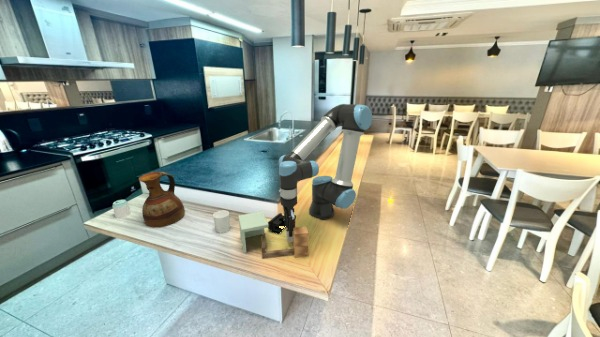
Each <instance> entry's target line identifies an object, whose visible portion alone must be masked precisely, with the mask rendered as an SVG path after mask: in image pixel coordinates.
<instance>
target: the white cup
mask: <svg viewBox="0 0 600 337" xmlns="http://www.w3.org/2000/svg"><path fill="white" fill-rule="evenodd" d="M212 217H213V222H214V226H215V227H214V228H215V231H216V232H217V233H218V234H224V233H225V234H226V233H227V232H229V231H230V229H231V228H230V226H231V224H230V222H231V221H230V212H229V211H228V210H223V209H222V210H218V211H216V212H214V213H213V215H212Z"/></svg>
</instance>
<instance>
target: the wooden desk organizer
mask: <svg viewBox="0 0 600 337" xmlns="http://www.w3.org/2000/svg"><path fill="white" fill-rule="evenodd" d="M292 242H293V244H292V245H293V248H284V249H283V248H282V249H275V250H273V249H272V250H267V249H266V248H267V246H266V233H265V234H262V235H261V255H262V256H261V257H262V259H269V258H280V257H288V256H294V258H303V257H309V231H308V227H307V226H299V227H296V226H295V228H293V241H292Z"/></svg>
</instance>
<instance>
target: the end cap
mask: <svg viewBox="0 0 600 337" xmlns="http://www.w3.org/2000/svg"><path fill="white" fill-rule="evenodd" d="M267 222H268V226H269V227H268V228H267V229H268V231H269V232H271V233H273V232H274V233H273V234H276V233H277V234H276V235H280V234H281V233H282V232H283V231H284V230H285V229H286V227H285V226H286V225H285V220H284V214H283V213H282V212H280V213H277V214H276V215H275V216H274V217H272V218H271V219H270V220H269V221H267ZM279 226H284V227H285V229H284V228H283V229H284V230H283V229H281V228H279ZM282 230H283V231H282ZM280 232H281V233H280Z"/></svg>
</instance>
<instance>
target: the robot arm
mask: <svg viewBox="0 0 600 337" xmlns="http://www.w3.org/2000/svg"><path fill="white" fill-rule="evenodd" d="M372 122H373V114H372V110H371V108H370V107H369V106H367V105H366V104H365V105H364V104H354V103H353V104H352V103H351V104H349V103H348V104H347V103H341V104H338V105H335V106H334V107H332V108H331V109H329V110H328V111H327V112H326V113H325V114H324V115H322V116H321V118H320V121H319V123H317V125H316V126H314V128H313V129H312V130H311V131H310V132H308V134H307V135H306V136H305V137H304V138H303V139H302V140H301V141H300V142H299V143H297V145H296V146H294V148H293V150H291V152H290V153H288V154H283V155H282V156H280V157H279V159H278V167H279V168H278V174H279V175H278V178H279V190H278V192H279V196H280V197H279V198H280V199H279V200H280V205H281V206H282V210H283V216H284V220H285V225H286V228H287V229H286V228H285V231H286V242H287V243H292V242H293V228H296V219H297V215H296V214H295V206H297V205H298V182H301V181H304V180H307V179H312V181H311V182H312V184H311V202H310V206H309V208H308V213H309V215H310V216H311V217H312V218H314V219H318V220H327V219H331V218H333V216H334V215H335V208H334V206H335V207H337V208H338V209H339V208H340V209H341V210H342V209H343V210H345V209H348V208H349V207H351V206H352V205H353V203H354V202H355V200H356V196H357V192H356V190H354V189H353V188H354V183H353V182H352V179H353V178H352V177H353V175H354V168H355V165H356V159H357V154H358V150H359V144H360V140H361V137H362V136H363V135H364V134H365V131H366V130H368V129H369V128H370V127H371V125H372ZM339 127H341V132H342V133H343V136H342V141H341V146H340V151H339V155H338V156H339V157H338V161H337V166H336V171H335V177H334V178H333V177H332V176H330V175H318V174H319V172H320V166H319V164H318V163H317V161H315V160H307V161H305V159H306V158H307V157H308V156H309V155H310V154H311V153H312V152H313V151H314V150H315V149H316V148H317V147H318V146H319V144H320V143H321V142H322V141H323V140H324V139H325V138H326V137H327V136H328V135H329V134H330V133H331V132H334V131H335V130H336V129H337V128H339Z"/></svg>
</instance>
